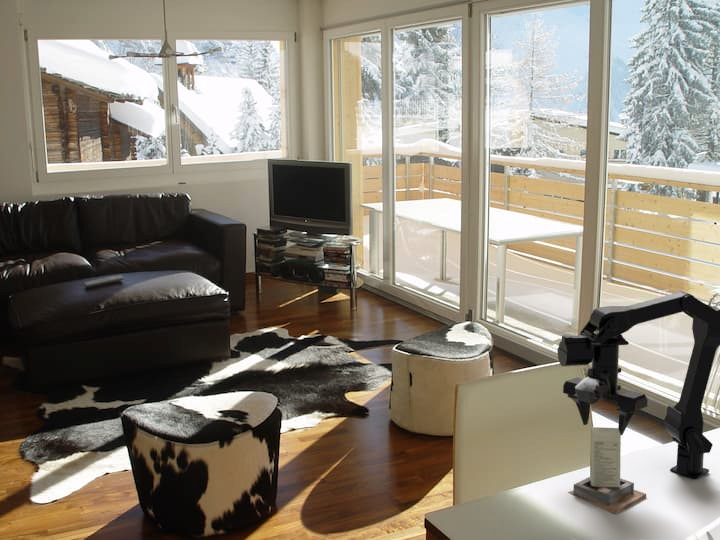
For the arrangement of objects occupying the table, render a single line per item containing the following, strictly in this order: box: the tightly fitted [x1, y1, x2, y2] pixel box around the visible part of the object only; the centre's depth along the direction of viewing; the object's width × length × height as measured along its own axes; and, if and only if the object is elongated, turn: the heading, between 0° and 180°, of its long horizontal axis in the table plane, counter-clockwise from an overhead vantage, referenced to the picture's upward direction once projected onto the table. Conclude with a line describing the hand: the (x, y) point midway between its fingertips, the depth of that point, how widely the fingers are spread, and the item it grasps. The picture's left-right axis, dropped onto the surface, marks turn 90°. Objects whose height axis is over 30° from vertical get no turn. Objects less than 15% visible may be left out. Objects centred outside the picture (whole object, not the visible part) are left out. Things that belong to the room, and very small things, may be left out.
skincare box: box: [589, 426, 622, 487], centre depth 179 cm, size 6×4×12 cm
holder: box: [567, 476, 647, 515], centre depth 180 cm, size 12×12×3 cm
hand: (602, 429), depth 187 cm, fingers open, 9 cm apart
